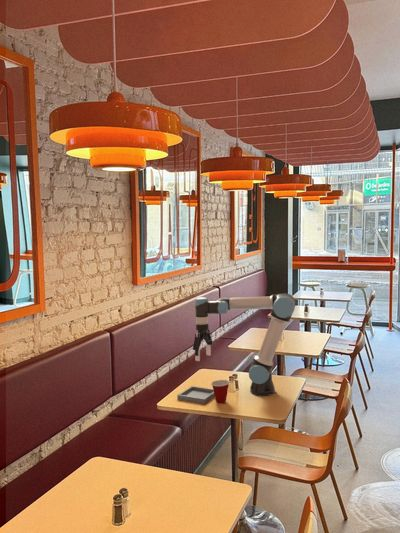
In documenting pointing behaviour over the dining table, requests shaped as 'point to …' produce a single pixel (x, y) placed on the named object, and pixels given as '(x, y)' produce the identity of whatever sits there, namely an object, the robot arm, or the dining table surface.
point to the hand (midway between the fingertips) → (203, 358)
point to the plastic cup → (220, 390)
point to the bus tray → (196, 395)
